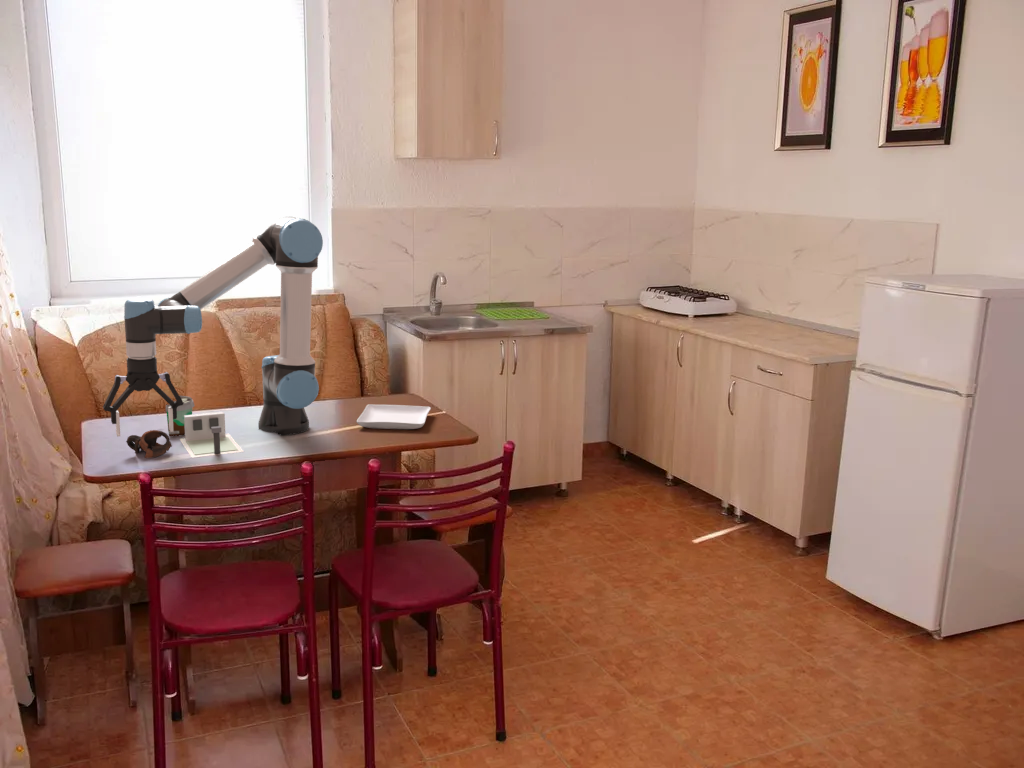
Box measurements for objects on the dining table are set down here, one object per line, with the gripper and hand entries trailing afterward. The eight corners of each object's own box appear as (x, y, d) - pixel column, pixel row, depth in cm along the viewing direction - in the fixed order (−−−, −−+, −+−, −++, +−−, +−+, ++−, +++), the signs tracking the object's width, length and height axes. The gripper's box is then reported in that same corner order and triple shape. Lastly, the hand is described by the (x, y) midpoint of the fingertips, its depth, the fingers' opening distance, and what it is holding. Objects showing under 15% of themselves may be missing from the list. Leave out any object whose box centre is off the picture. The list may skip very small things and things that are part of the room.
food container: (188, 438, 275) (186, 405, 273) (167, 437, 275) (165, 405, 272) (201, 427, 287) (199, 395, 285) (181, 426, 287) (179, 395, 284)
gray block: (221, 452, 259) (220, 426, 257) (222, 453, 257) (221, 427, 256) (212, 453, 258) (211, 426, 256) (213, 454, 256) (212, 428, 254)
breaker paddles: (218, 427, 272) (217, 417, 272) (218, 428, 272) (218, 418, 271) (193, 430, 269) (192, 419, 268) (193, 430, 268) (193, 420, 268)
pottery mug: (173, 451, 264) (176, 430, 259) (164, 474, 257) (167, 454, 252) (129, 441, 261) (131, 420, 256) (119, 465, 254) (121, 444, 249)
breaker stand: (228, 436, 277) (227, 410, 275) (244, 455, 260) (242, 427, 258) (179, 442, 271) (178, 415, 269) (191, 461, 254) (190, 432, 252)
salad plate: (424, 433, 287) (424, 422, 286) (355, 431, 287) (355, 420, 287) (431, 415, 308) (431, 405, 307) (367, 413, 308) (367, 403, 307)
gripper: (187, 351, 259) (190, 425, 264) (89, 356, 248) (94, 433, 252) (192, 356, 253) (195, 432, 258) (92, 361, 241) (96, 440, 246)
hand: (145, 432), depth 255 cm, fingers open, 13 cm apart
